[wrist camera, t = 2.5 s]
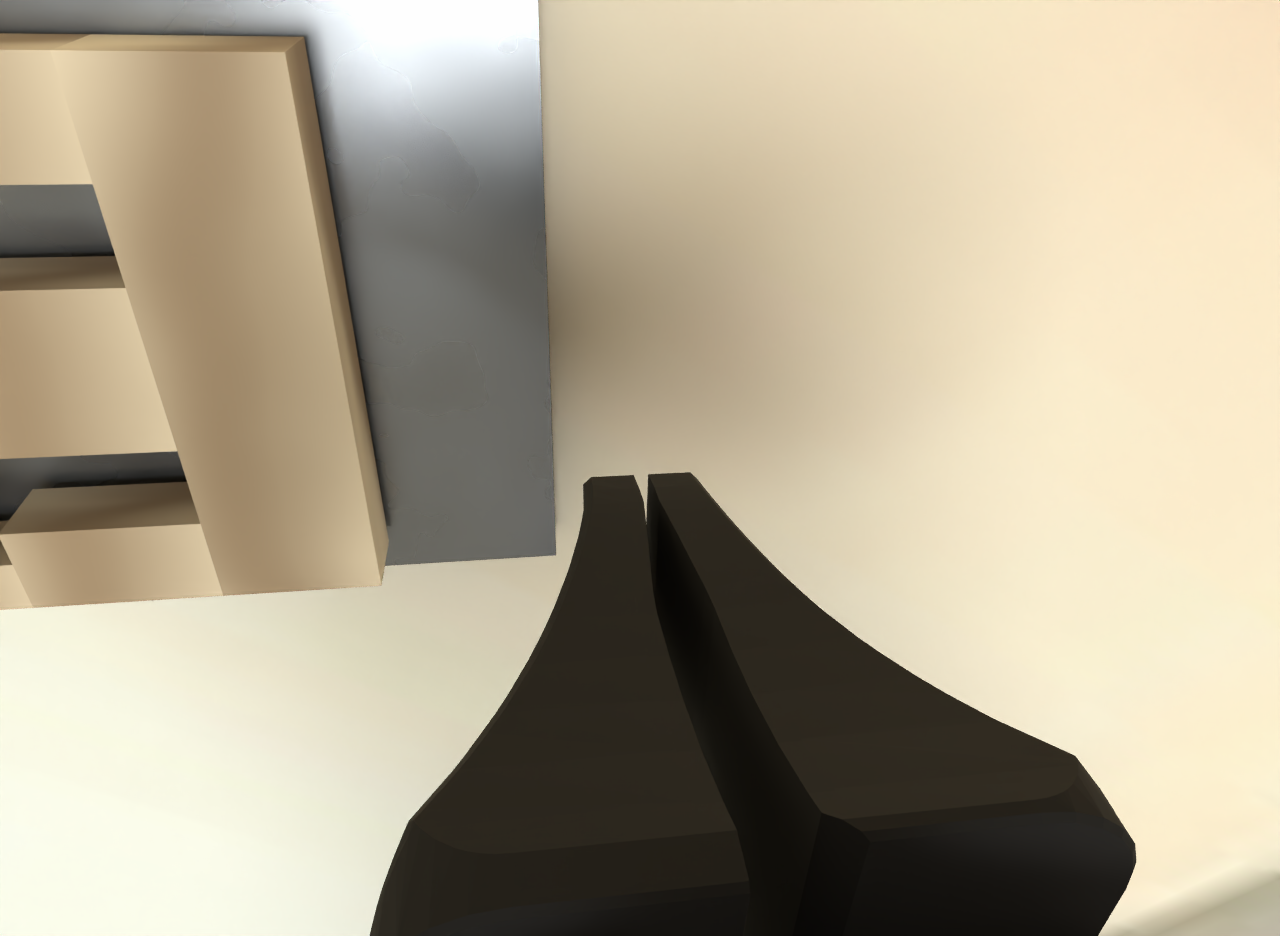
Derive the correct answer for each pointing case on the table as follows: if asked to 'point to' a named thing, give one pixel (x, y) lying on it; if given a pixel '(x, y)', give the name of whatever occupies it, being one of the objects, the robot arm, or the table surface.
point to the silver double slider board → (383, 251)
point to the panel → (182, 327)
